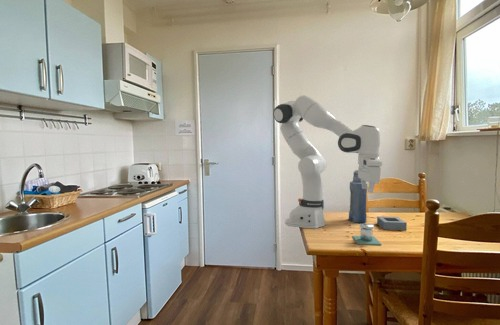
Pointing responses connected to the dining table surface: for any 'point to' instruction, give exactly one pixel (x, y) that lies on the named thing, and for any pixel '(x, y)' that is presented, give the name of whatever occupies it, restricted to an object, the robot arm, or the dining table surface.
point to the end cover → (366, 231)
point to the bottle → (357, 200)
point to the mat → (361, 242)
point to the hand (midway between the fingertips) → (367, 190)
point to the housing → (391, 223)
